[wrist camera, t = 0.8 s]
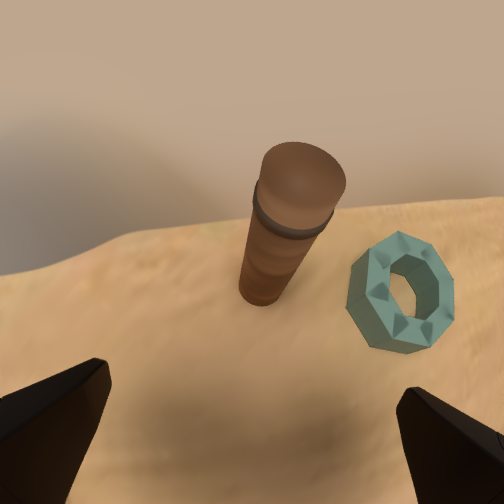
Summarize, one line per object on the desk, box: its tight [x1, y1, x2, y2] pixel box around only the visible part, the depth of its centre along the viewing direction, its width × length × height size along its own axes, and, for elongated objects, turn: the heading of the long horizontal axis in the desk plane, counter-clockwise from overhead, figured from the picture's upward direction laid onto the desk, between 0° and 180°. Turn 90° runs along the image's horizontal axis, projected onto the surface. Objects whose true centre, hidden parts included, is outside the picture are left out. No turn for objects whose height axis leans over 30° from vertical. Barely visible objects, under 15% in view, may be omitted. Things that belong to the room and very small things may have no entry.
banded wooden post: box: [239, 142, 346, 306], centre depth 16 cm, size 4×4×13 cm
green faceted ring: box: [346, 231, 454, 354], centre depth 21 cm, size 10×10×4 cm
